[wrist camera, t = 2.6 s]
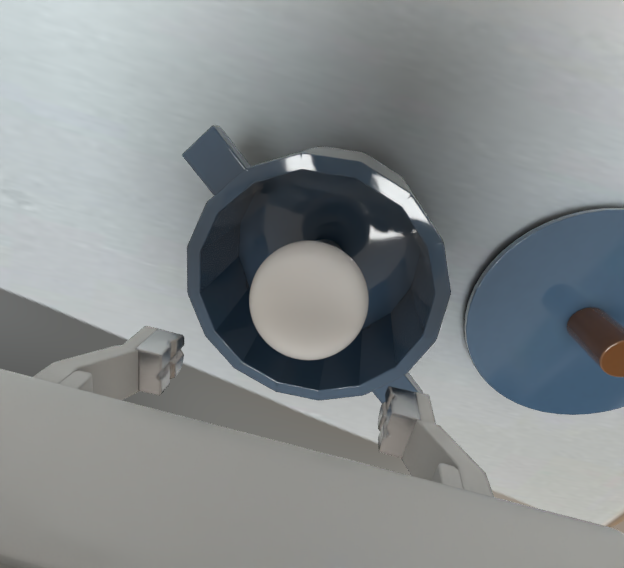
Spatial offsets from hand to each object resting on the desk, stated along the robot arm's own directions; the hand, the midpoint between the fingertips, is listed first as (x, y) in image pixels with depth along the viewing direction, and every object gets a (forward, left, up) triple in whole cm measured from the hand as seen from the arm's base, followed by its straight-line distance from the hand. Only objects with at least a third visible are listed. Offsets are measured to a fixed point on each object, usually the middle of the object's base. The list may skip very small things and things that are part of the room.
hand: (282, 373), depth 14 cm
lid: (-12, +14, -14) cm, 23 cm away
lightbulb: (0, 0, -14) cm, 14 cm away
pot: (0, 0, -14) cm, 14 cm away
